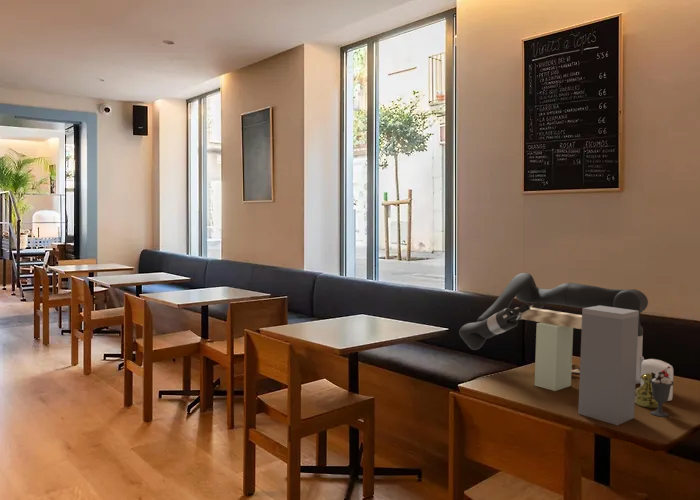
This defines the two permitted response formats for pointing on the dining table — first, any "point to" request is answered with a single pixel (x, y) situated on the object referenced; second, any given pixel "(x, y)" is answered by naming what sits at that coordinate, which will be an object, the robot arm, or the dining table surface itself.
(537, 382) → the sage green pillar
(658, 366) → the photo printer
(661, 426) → the dining table surface
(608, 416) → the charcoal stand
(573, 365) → the sushi roll
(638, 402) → the gold buddha statue
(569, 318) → the ash bar
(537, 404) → the dining table surface
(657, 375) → the sundae
